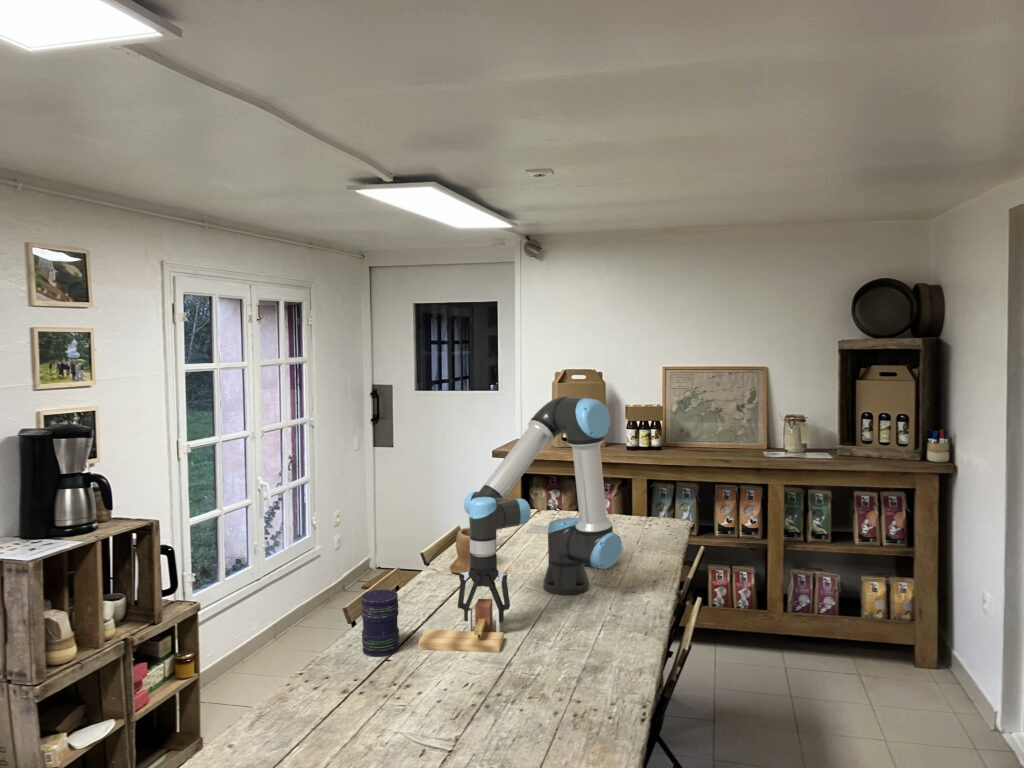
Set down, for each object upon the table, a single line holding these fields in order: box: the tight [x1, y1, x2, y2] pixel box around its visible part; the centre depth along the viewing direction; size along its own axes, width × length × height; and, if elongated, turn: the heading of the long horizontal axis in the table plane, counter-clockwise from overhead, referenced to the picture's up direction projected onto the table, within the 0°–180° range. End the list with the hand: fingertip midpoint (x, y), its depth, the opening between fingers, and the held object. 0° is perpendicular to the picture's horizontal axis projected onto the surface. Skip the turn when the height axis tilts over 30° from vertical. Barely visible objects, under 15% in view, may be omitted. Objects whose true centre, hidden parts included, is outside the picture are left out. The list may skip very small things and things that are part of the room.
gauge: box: [473, 598, 494, 638], centre depth 221 cm, size 4×14×9 cm, turn 173°
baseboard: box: [526, 523, 549, 535], centre depth 336 cm, size 31×3×12 cm
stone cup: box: [448, 527, 471, 574], centre depth 285 cm, size 15×12×15 cm
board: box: [417, 629, 504, 653], centre depth 218 cm, size 22×9×2 cm, turn 83°
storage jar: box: [360, 589, 400, 658], centre depth 214 cm, size 10×10×15 cm
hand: (484, 632), depth 225 cm, fingers open, 7 cm apart
